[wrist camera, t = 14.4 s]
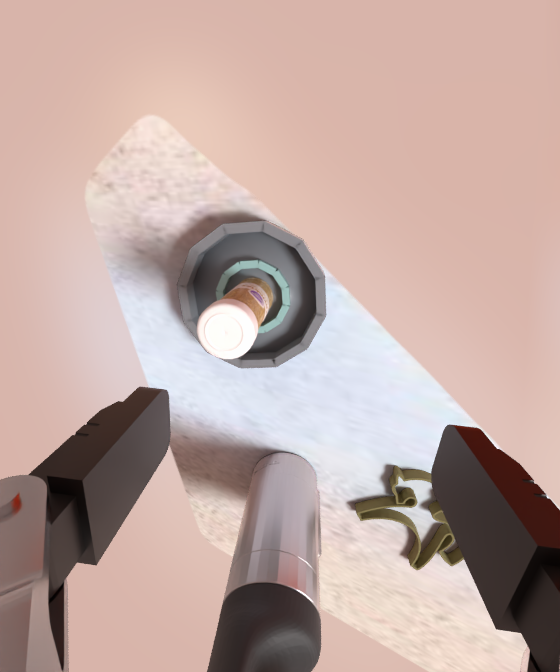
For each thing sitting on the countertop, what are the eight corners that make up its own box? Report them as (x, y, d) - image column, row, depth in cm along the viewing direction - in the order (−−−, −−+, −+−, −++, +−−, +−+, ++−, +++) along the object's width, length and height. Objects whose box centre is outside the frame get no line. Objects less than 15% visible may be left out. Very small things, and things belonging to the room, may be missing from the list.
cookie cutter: (344, 494, 47) (345, 506, 45) (413, 451, 43) (418, 462, 41) (419, 566, 50) (423, 579, 48) (489, 531, 46) (497, 544, 45)
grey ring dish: (350, 314, 37) (353, 321, 35) (241, 379, 41) (236, 390, 39) (272, 190, 34) (269, 187, 31) (161, 275, 38) (149, 279, 35)
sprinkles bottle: (281, 290, 36) (265, 325, 24) (260, 322, 38) (235, 371, 25) (246, 268, 36) (212, 291, 23) (227, 301, 37) (184, 340, 25)
